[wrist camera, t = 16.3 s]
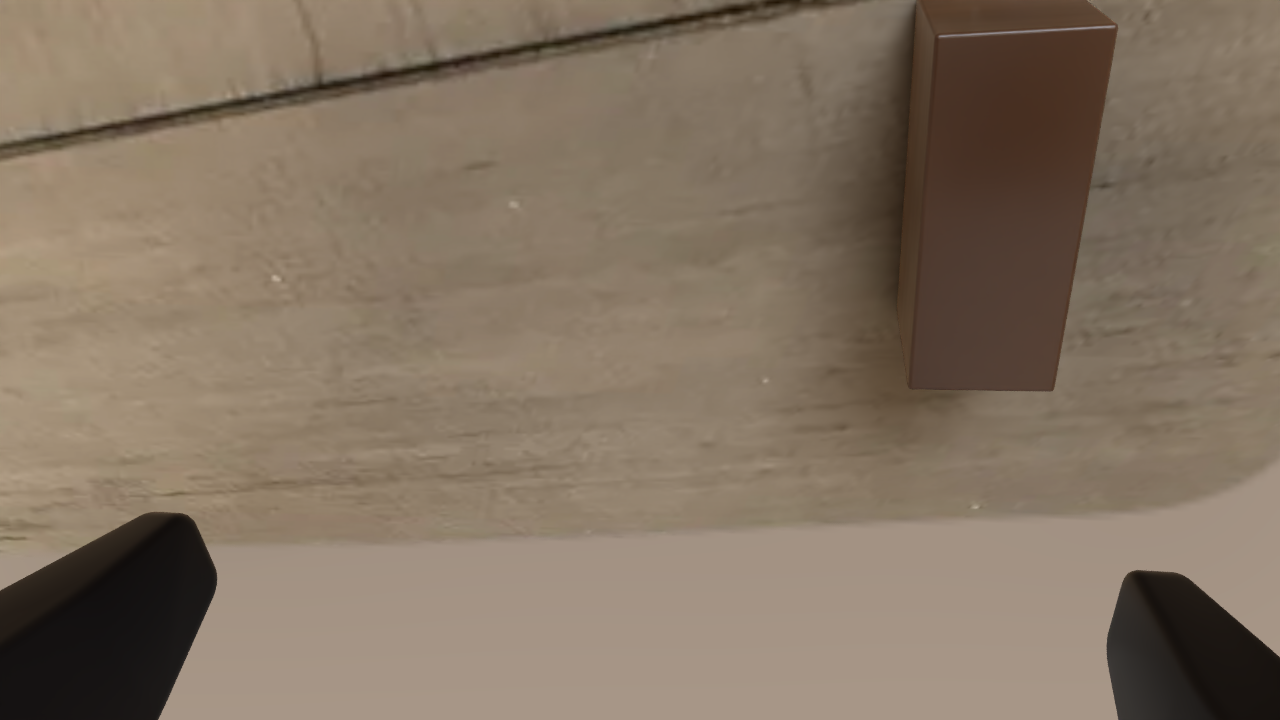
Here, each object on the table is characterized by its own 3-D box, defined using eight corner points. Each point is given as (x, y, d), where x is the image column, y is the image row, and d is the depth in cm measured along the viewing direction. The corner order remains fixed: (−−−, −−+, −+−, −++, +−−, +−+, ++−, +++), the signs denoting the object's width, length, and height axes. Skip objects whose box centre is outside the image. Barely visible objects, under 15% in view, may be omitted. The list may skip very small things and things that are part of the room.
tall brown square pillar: (1070, -14, 12) (1120, 24, 10) (1022, 311, 15) (1054, 393, 13) (916, -5, 12) (934, 33, 10) (896, 311, 15) (907, 390, 13)
